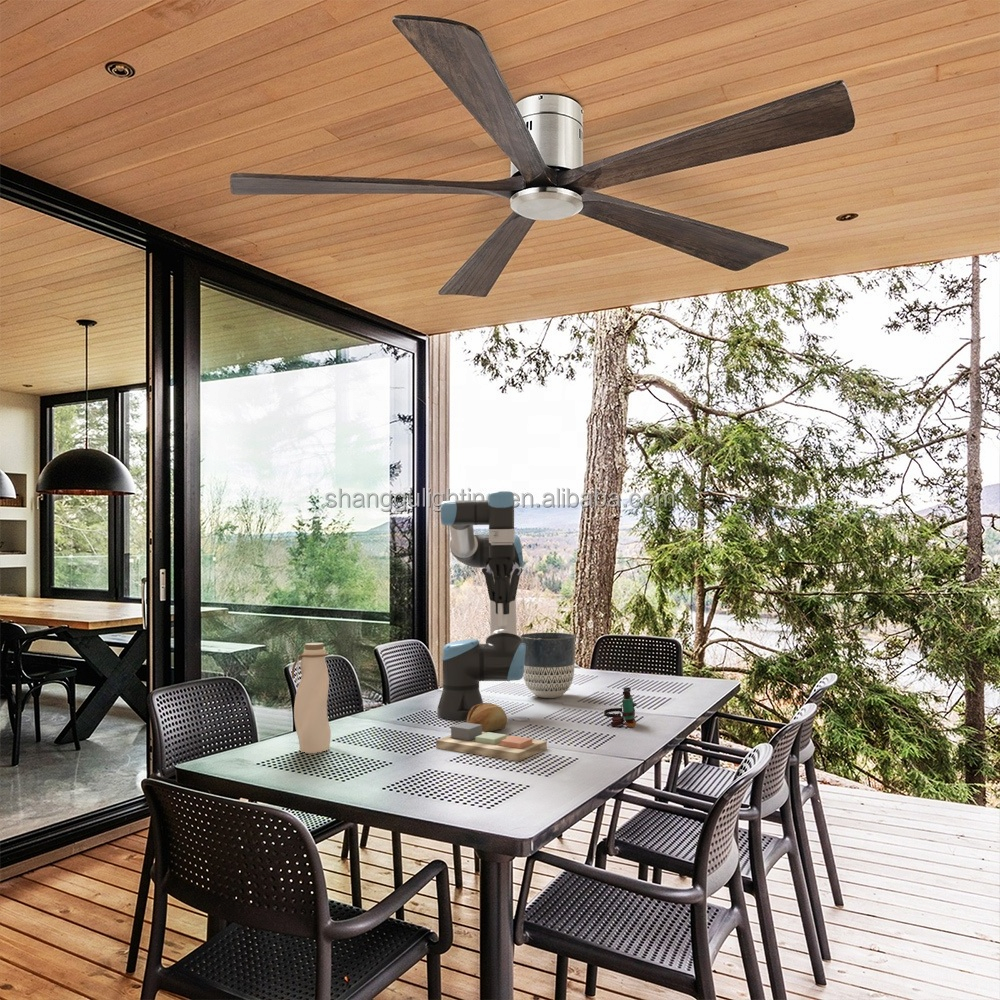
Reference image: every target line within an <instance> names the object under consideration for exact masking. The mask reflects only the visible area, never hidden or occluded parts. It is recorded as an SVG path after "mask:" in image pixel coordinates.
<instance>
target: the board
mask: <svg viewBox="0 0 1000 1000" xmlns="http://www.w3.org/2000/svg"><path fill="white" fill-rule="evenodd" d="M484 733H487V732H482V734H484ZM506 735H507V734H506ZM511 736H512V735H507V738H509V737H511ZM435 743H436V744H435V747H436V748H437V749H442V750H446V751H447V750H449V751H454V752H461V753H466V754H472V755H479V756H485V757H489V758H495V759H500V760H501V759H504V760H506V761H507V760H508V761H512V762H513V761H515V762H520V761H523V760H525V759H527V758H529V757H531V756H534V755H536V754H538V753H541V752H543V751H545V750H548V744H547V743H548V741H547V740H541V739H534V738H532V745H530V746H528V747H525V748H523V749H516V748H509V747H503V746H501V743H499V744H497V745H490V744H484V743H477V742H475V739H472V740H470V741H468V740H462V739H455V738H451V734H450V735H447V736H444V737H441V738H438V739H436V740H435Z"/></svg>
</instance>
